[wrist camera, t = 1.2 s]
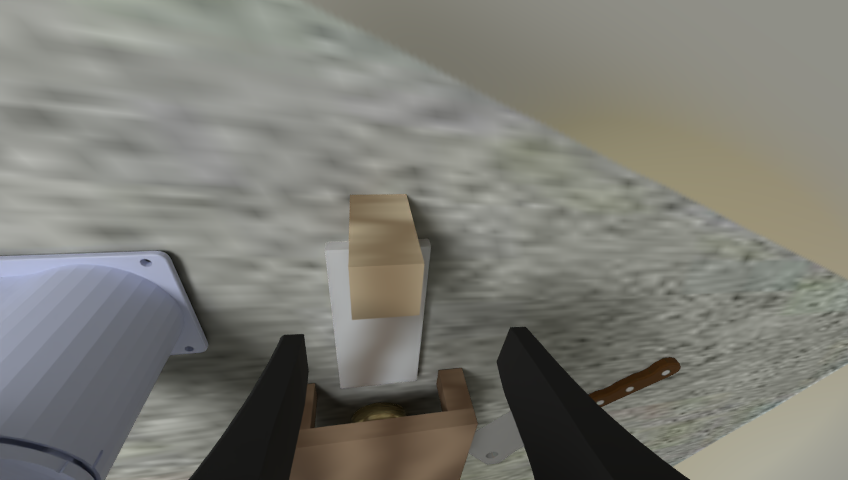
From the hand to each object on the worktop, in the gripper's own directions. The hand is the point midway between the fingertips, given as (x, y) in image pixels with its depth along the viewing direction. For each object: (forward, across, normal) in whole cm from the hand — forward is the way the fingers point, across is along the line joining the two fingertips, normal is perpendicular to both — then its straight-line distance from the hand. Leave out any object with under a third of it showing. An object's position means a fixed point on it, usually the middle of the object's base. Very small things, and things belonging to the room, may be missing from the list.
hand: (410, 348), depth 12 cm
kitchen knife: (+10, -19, +23) cm, 31 cm away
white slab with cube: (+9, +1, +7) cm, 11 cm away
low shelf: (+9, 0, +21) cm, 22 cm away
